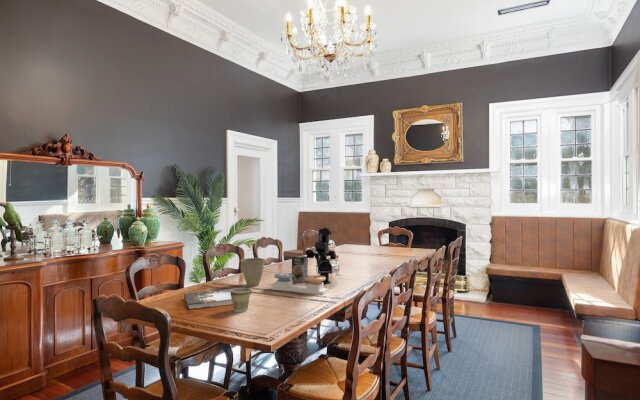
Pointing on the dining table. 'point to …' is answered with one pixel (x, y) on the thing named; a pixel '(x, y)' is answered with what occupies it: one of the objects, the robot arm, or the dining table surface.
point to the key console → (300, 287)
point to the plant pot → (252, 270)
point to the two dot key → (284, 276)
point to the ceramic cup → (240, 299)
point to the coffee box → (299, 268)
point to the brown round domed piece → (315, 279)
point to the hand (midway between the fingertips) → (317, 265)
